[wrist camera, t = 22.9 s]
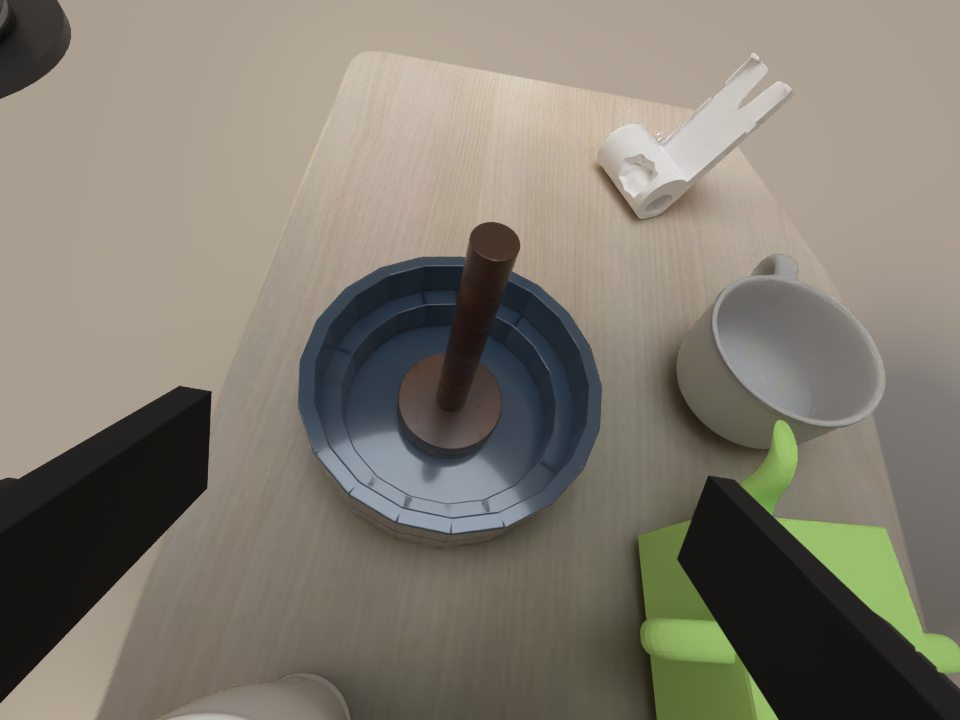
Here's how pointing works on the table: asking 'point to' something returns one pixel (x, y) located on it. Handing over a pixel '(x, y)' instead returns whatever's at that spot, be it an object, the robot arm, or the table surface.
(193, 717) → the drinking glass
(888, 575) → the teapot
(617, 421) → the table surface
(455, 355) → the wooden stand
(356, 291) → the mixing bowl
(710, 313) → the teacup
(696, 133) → the plastic part
